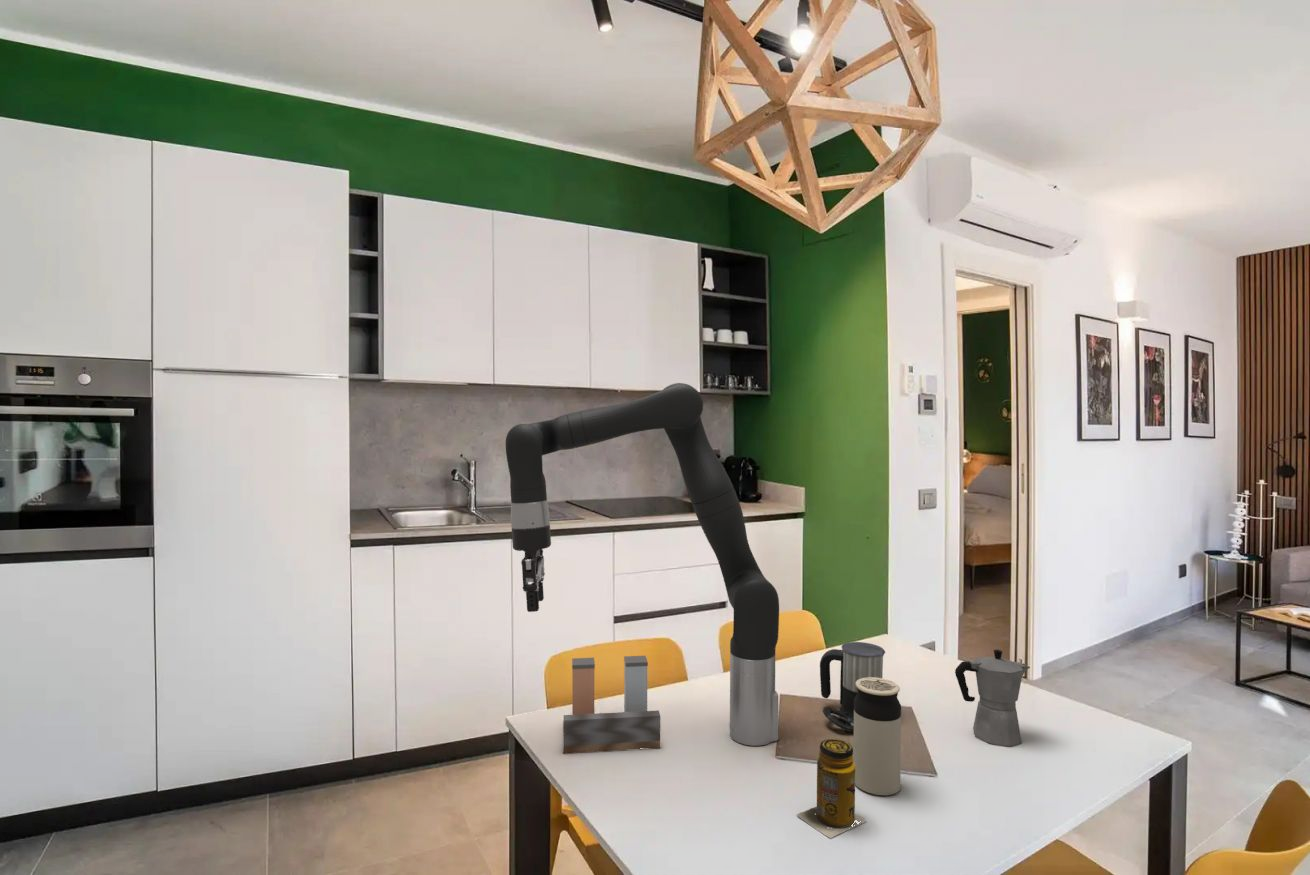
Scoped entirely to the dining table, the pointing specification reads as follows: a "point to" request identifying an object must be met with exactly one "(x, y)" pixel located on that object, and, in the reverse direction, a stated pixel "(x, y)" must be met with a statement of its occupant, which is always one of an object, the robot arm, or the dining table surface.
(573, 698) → the orange-brown tall block
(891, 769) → the travel mug
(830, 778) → the condiment
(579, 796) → the dining table surface
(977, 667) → the coffeepot
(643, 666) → the grey tall block
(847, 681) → the milk frother
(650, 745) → the base
